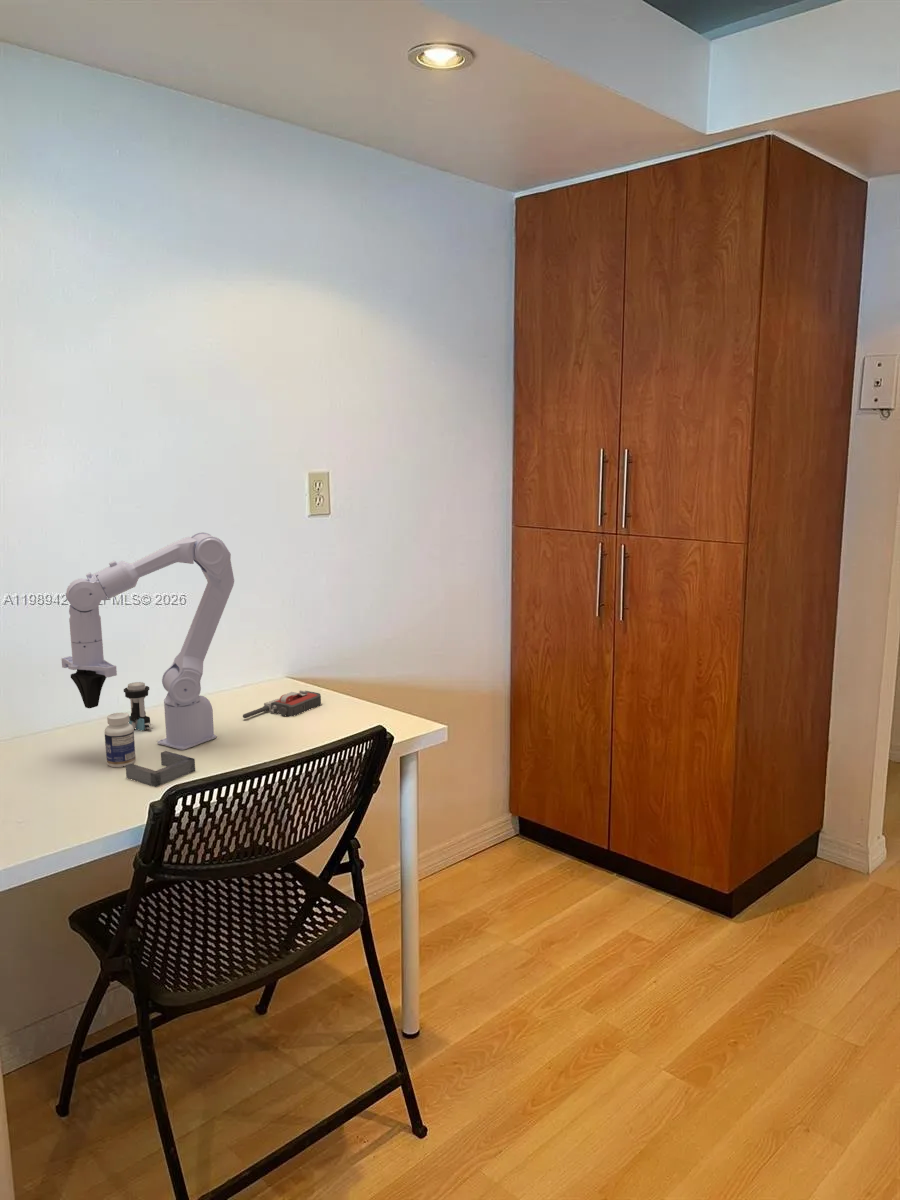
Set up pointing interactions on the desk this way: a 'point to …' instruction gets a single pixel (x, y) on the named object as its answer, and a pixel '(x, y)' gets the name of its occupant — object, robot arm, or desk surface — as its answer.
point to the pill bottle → (119, 740)
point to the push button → (138, 705)
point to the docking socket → (162, 770)
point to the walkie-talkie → (290, 704)
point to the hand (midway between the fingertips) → (91, 706)
